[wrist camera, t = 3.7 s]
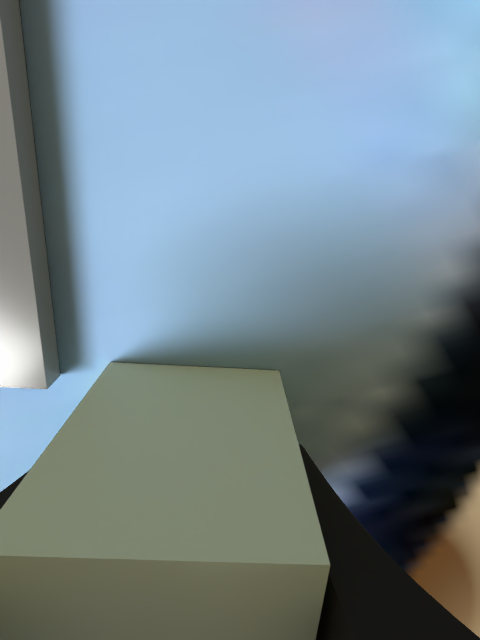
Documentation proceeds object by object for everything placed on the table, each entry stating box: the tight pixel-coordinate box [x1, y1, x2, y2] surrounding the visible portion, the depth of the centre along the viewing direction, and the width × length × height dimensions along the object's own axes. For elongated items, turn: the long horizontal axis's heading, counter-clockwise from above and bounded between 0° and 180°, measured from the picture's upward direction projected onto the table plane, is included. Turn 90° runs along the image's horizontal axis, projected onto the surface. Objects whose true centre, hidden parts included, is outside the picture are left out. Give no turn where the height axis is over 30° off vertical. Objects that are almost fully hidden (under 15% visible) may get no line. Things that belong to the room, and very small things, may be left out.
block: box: [0, 362, 330, 640], centre depth 9 cm, size 5×5×6 cm
